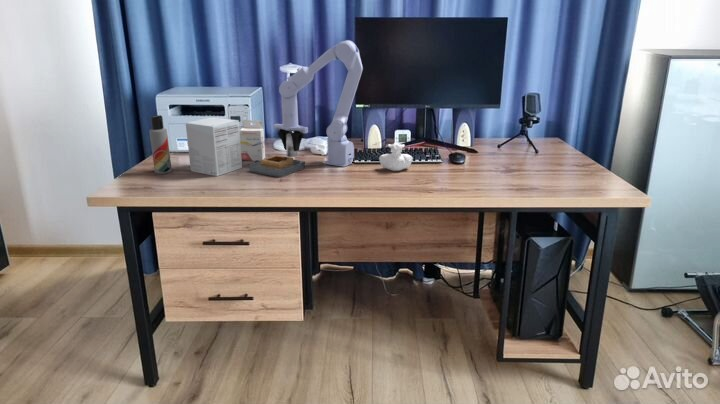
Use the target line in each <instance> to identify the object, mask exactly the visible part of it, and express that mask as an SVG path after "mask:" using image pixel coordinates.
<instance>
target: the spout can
mask: <svg viewBox="0 0 720 404" xmlns="http://www.w3.org/2000/svg"><path fill="white" fill-rule="evenodd" d="M289 131H290V132H288V133H287V134H286V150H285V153H286V157H290V158H295V157H297V156H298V151H294V145H293V139H292V136H291V133H295V132H293V131H291V130H289Z"/></svg>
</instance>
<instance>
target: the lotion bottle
mask: <svg viewBox="0 0 720 404" xmlns="http://www.w3.org/2000/svg"><path fill="white" fill-rule="evenodd" d="M163 120H164V119H163V116H162V115H161V114H159V115H154V116H151V117H150V123H151V124H150V125H151V129H149V130H148V131H149V132H148V133H149V139H150V145H151V152H152V154H151V156H152V161H153V169H154V173H155V174H158V175H161V174H162V175H163V174H169V173H171V172H172V163H171V162H172V161H171V154H170V153H171V152H170V145H169V136H168V130H167V128H165V126H164V121H163Z"/></svg>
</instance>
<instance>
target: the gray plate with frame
mask: <svg viewBox="0 0 720 404" xmlns="http://www.w3.org/2000/svg"><path fill="white" fill-rule="evenodd" d="M248 165H249V167H248V168H249V172H251V173H254V174H260V175H265V176H271V177H276V178H283V177H286V176H288V175H290V174H293V173H296V172H299V171H301V170H304V169H306V161H305V160H304V161H303V160H299V159H294V157H288V156H282V155H276V154H275V155H273V156H270V157H265V158H264V159H263V160H261V161H259V160H256V161H254V163H251V164H248Z"/></svg>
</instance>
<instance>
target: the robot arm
mask: <svg viewBox="0 0 720 404" xmlns="http://www.w3.org/2000/svg"><path fill="white" fill-rule="evenodd" d="M337 60H339V61H341V63H343V64H344V66H345V69H346V70H347V74H346V78H345V81H344V84H343V87H342V89H341V90H342V91H341V93H340V96H339V100H338V103H337V107H336V109H335V113H334V115H333V118H332V121H331V123H330V124H329V125H328V126H327V127H326V130H325V131H326V135H327V143H326V144H327V160H326V161H323V162H322V164H324V165H331V166H335V167H336V166H337V167H342V168H345V167H347V166H350V165H351V164H353V163H352V161H353V158H354V159H355V146H354V143H353V142H352V141H349V140H348V138H347V135H346V133H347V132H348V120H349V115H350V111H351V108H352V105H353V102H354V99H355V95H356V92H357V90H358V86H359V83H360V80H361V76H362V73H363V70H364V67H363V64H362V59H361V55H360V50H359V48H358V47H357V45H356V44H355V42H354V41H352V40H349V39H347V40H343V41H339V42H338V43H337V44H335V45H334V46H333V47H330V48H328V50H326V51H325V52H323V54H321V55H320V56H319V57H318V58H317V59H316V60H314V61H313V62H312V63H311V64H310V65H309V66H302V67H301V66H300V67H298V68H297V69H296V71H295V73H294V74H291V76H288V77H287V80H285V81H282V82H281V83H280V85H279V87H278V90H279V94H280V96H281V114H282V116H281V117H282V118H281V119H282V123H274V124H273V129H274V130H275V131H277V130H278V131H277V135H278V136H279V138H280V141H281V142H282V145H283V148H284V149H283V150H285V151H286V134H287V133H288V132H290V131H289V130H291V131H292V132H294V133H291V136H292V139H293V145H294V151H297V152H299V151H300V148H301V143H302V140H303V137H304V135H305V134H307V133H309V128H308V126H303V125H299V111H298V110H299V109H298V107H299V106H298V96H297V94H298V93H299V91H300V90H302V89H303V88H304V87H306V86H307V85H309V84H310V83H311V82H312V81H314V76H315V74H316V73H317V72H319V71H320V70H321V69H323V68H324V67H325V66H327V65H328V64H329V63H330V62H331V61H332V62H334V61H337Z"/></svg>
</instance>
